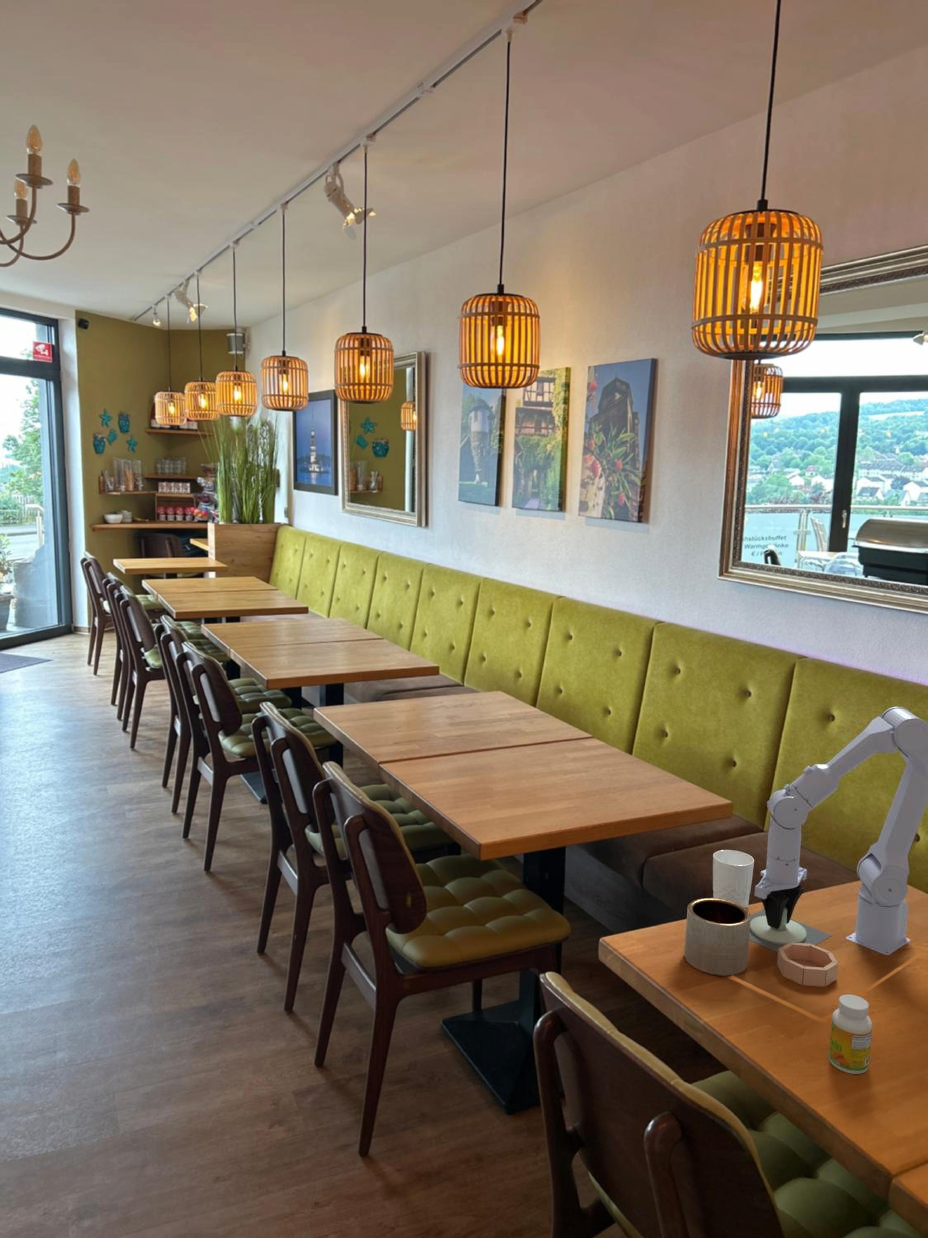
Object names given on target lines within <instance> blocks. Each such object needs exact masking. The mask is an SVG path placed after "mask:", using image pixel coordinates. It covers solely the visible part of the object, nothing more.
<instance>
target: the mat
mask: <svg viewBox="0 0 928 1238" xmlns="http://www.w3.org/2000/svg"><path fill="white" fill-rule="evenodd" d="M760 916H766V914H765V909H764V908H763V909H762V910H760V911H759V910H758V911H757V912H755V913H754V914H750V922H751V921H752V920H753V919H754V918H756V917H760ZM790 920H792V921H794V922H796V923H798V924H800V925H801V926H802V927H804V929H805V930H806V939H805V941H804V942H802V943H806V944H813V945H815V946H817V945H819V944H820V943H822V942H823V941H826V940H827V939H829V938H830V937H832V936H833V935H831V934H829V933H827V932H824V931H822V930H820V929H817V928H814V927H812V926H810V925H807V924H804V923H802V922H799V921H797V920H795V919H792V918H791V919H790ZM749 942H752V943H755V944H757V945H758V946H762V947H764V948H766V949H767V950H771V951H773V952H775V953H777V954H778V949H779V948H781V947H782V946H784V945H779V944H774V943H770V942H767V941H764V940H762V939H760V938H758V937H756V936H755V935H754V934H753V933H752V932H751V930H750V933H749Z"/></svg>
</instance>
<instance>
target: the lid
mask: <svg viewBox="0 0 928 1238" xmlns="http://www.w3.org/2000/svg"><path fill="white" fill-rule="evenodd" d="M786 921H787V908H786V907H784V910H783V914H782V920H781V924H780V927H779V928H778V929H775V928H773V927H771V926H768V924H767V919H766V916H760V917H756V918H754V919H753V920H752V921H751V922H750V930H751V932H752V933H753V934H754V935H755V936H756V937H758V938H760V939H762V940H764V941H767V942H770V943H774V944H779V945H786V944H788V943H790V942H791V943H802V942H804V941H805V939H806V930H805V929H804V927H802V926H801V925H800V924H798V923H796V922H794V921H792V920H790V922H789V923H788V924H786Z"/></svg>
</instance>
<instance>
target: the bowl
mask: <svg viewBox="0 0 928 1238" xmlns="http://www.w3.org/2000/svg"><path fill="white" fill-rule="evenodd" d="M838 963H839V962H838V961H837V959H836V958H835V955H834V954H833V952H831V951H829V950H827V949H825V948H823V947H820V946H817V945H813V944H806V943H791V942H790V943H788V944H786V945H784V946H782V947H781V948H779V949H778V953H777V963H776V965H777V968H778V970H779V972H780V974H781V975H782V977H784V978H786V979H788V980H790V981H792V982H795V983H797V984H799V985H801V986H802V985H803V986H809V987H811V986H812V987H827V986H829V985H830V984H832V983H834V982H835V981H836V980H837V978H838V977H837V976H838Z"/></svg>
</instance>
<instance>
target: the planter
mask: <svg viewBox="0 0 928 1238" xmlns="http://www.w3.org/2000/svg"><path fill="white" fill-rule="evenodd" d="M686 911H687V913H686V927H685V939H684V940H685V941H684V959H685V960H686V961H687V963H688V964H689V965H690V966H691V967H693V968H694V969H696V970H697V971H700V972H701V973H704V974H707V975H712V976H716V977H732V976H733V975H736V974H740V973H742V972H744V971H746V969H747V968H748V965H749V964H748V963H749V949H750V940H749V933H750V916H751V913H750V912H749V910H748V909H747V908H744V907H743V906H741V905H739V904H737V903H734V902H731V901H728V900H723V899H717V898H713V897H704V898H699V899H694V900H693V901H691V902H690V903H688V905H687V909H686Z"/></svg>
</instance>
